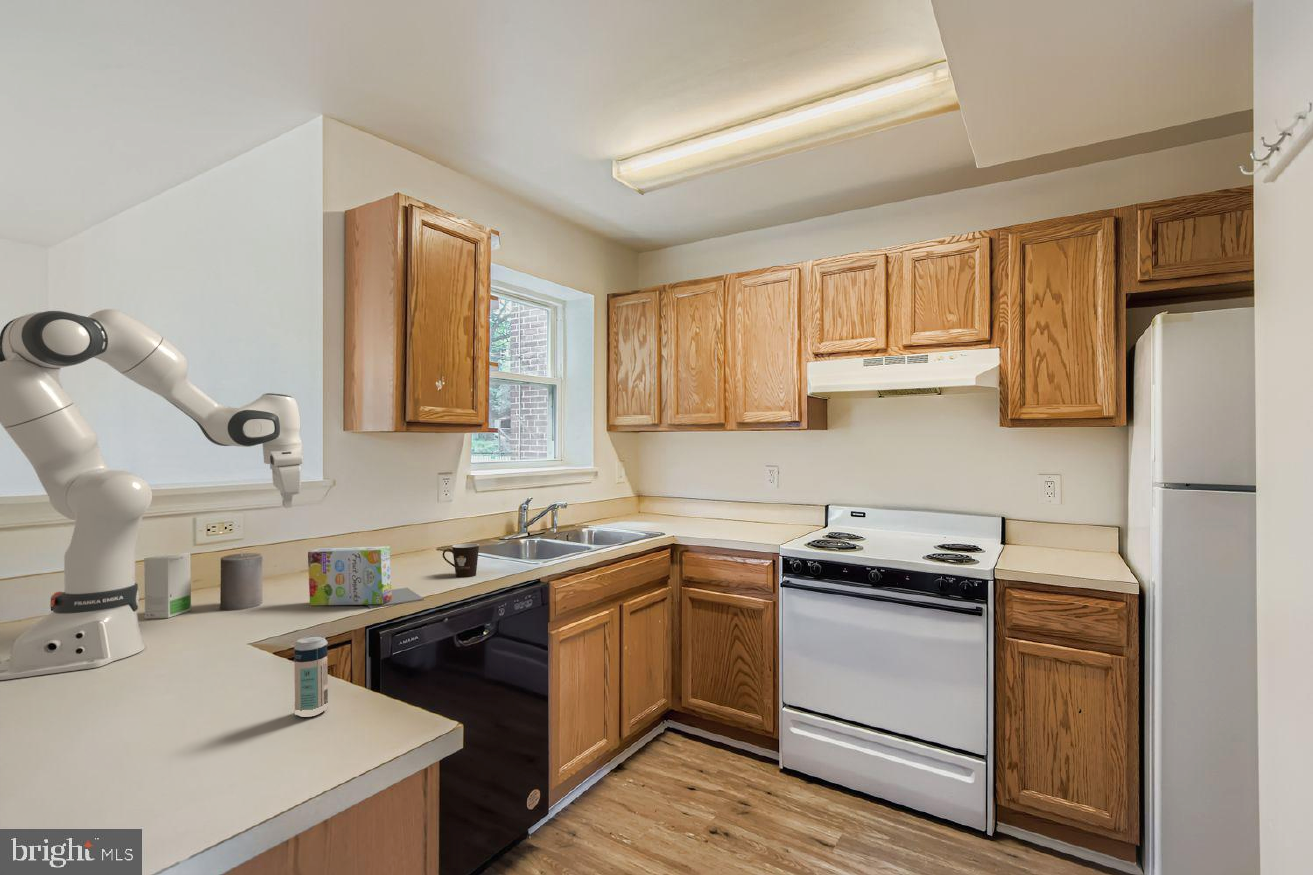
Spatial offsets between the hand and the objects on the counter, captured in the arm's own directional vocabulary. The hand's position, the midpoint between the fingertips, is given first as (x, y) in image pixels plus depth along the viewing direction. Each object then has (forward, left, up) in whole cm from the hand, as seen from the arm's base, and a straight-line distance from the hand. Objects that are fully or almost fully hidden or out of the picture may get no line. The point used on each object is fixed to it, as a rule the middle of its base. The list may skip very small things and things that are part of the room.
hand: (287, 506), depth 162 cm
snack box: (+15, -3, -27) cm, 31 cm away
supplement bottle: (-4, -75, -28) cm, 80 cm away
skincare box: (-25, +17, -28) cm, 41 cm away
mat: (+25, -3, -28) cm, 37 cm away
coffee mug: (+52, +14, -28) cm, 60 cm away
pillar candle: (-9, +15, -28) cm, 33 cm away
